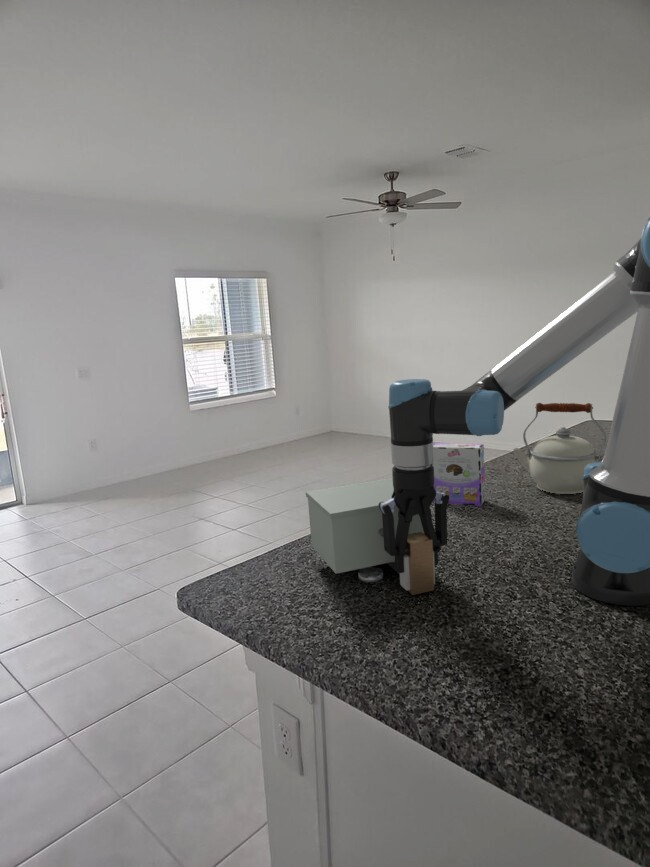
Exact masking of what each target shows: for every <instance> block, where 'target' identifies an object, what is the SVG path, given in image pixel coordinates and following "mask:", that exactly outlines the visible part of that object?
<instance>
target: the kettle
mask: <svg viewBox="0 0 650 867" xmlns="http://www.w3.org/2000/svg"><path fill="white" fill-rule="evenodd" d="M593 409H594V406H593V403H590V402H589V403H585V404H582V403H575V402H574V403H573V402H571V403H570V402H569V403H568V402H566V403H565V402H563V403H562V402H561V403H558V402H557V403H556V402H554V403H553V402H550V403H541V402H537V403H536V404H535V417H534V418H533V419H532V421H531V422H530V423H528V425H527V426H526V428H525V429H524V431H523V434H522V435H523V436H522V437H523V442H524V445H525V447H526V450H527V452H525V454H524V453H523V451H522V450H521V448H520V447H516V448H512V450H513V452H514V454H515V456H516V457H517V459H518V460H519V462H520V464H521V465H522V466H523V468H525V469H526V471H528V472H529V475H530V476H531V478H532V480H533V481H534V482H535V483H537V484H536V487H537V488H538V489H539V490H540V491H542V490H543V491H542V492H544V491H546V492H545V493H547V492H550V493H549V494H552V493H556V494H555V495H560V494H574V495H576V494H575V493H580V492H583V488H584V481H583V479H582V477H583V476H584V468H585V467H586V466H587V465H588V464H590V463H597V462H601V460H604V456H601V453H602V452H603V451H604V448H605V447H606V446H605V445H606V444H607V443H606V442H607V435H606V432H605V430H604V429H603V428H602V426H601V425H600V424H599V423H598V422H597V421H596V420H595V418H594V416H593ZM541 412H549V413H581V412H585V413H586V414H590V419H591V421H592V422H593V423H594V424H595V425H596V426H597V427H598V428H599V430H600V431H601V432H602V435H603V438H604V442H603V445H602V448H601V450H600V451H599V453H598V451H597V450H596V449H595V448H594V446H593V445H592V443H591V442H590V441H589V440H586V439H585V438H581V437H579V436H575V435H571V434H572V432H571V430H569V429H568V428H567V427H566V426H565V427H564V426H563V427H561V428H559V429H557V430H556V431H555V434H556V435H552V436H546V437H544V438H542V439H540V440H539V441H537V442H536V444H535V445H534V447H533V448H532V449H531V448H530V446H529V444H528V441H527V437H526V432H527V431H528V429H529V427H530V426H531V425H532V423H534V421H535V420H536V419H537V417H539V416H538V415H539V413H541ZM597 455H598V456H597Z"/></svg>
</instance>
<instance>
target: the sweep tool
mask: <svg viewBox="0 0 650 867" xmlns="http://www.w3.org/2000/svg"><path fill="white" fill-rule="evenodd" d="M405 554H406V555H407V556H408V557H409V575H410V590H407V591H408V592H409V594H410V595H412V596H415V595H419V594H423V593H428V592H434V591H435V584H434V570H433V542H432V539H431V538H429V537H428V536H426V535H425V534H423V533H422V532H417V533H412V534H408V539H407V544H406V550H405ZM387 565H389V566H390V567H391V568H392V569H393V570H394V571H395V572H397V574H398V575H400V573H399V572H398V571H396V569H395V561H394V562H389V563H387Z"/></svg>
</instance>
